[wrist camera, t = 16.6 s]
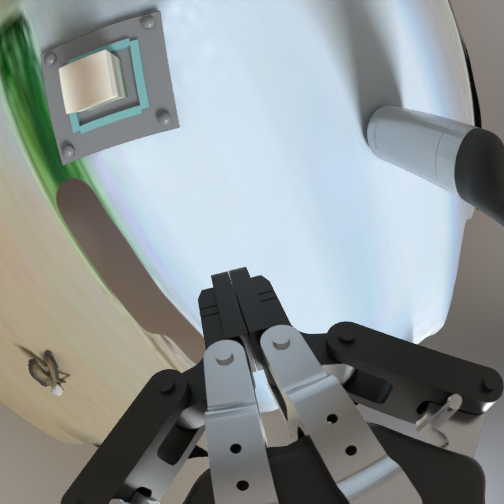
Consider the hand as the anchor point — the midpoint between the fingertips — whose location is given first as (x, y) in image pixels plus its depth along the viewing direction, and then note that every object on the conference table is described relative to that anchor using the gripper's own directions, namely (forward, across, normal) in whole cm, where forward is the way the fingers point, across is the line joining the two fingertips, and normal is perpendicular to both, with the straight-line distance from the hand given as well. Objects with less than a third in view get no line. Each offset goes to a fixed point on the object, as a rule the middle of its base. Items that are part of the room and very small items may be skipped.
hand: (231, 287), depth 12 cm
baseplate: (+27, +9, -12) cm, 31 cm away
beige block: (+26, +9, -12) cm, 30 cm away
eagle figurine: (+25, +43, +37) cm, 62 cm away
